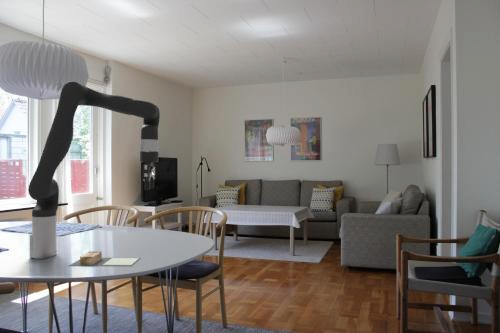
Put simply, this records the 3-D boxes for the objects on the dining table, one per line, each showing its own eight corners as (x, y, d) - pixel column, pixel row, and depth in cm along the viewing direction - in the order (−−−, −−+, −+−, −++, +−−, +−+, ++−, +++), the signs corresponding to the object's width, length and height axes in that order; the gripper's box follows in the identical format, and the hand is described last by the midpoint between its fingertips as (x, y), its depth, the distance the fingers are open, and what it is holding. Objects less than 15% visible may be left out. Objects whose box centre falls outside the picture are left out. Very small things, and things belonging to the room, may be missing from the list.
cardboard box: (80, 264, 160) (80, 256, 160) (89, 258, 169) (89, 251, 169) (93, 264, 160) (93, 256, 160) (101, 258, 169) (101, 251, 169)
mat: (68, 267, 157) (68, 265, 157) (83, 258, 171) (83, 256, 171) (131, 267, 157) (131, 265, 157) (141, 258, 171) (141, 257, 171)
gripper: (144, 151, 182) (143, 188, 182) (136, 150, 167) (136, 190, 168) (161, 151, 182) (161, 188, 182) (155, 150, 168) (154, 190, 168)
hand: (149, 189), depth 175 cm, fingers open, 8 cm apart
